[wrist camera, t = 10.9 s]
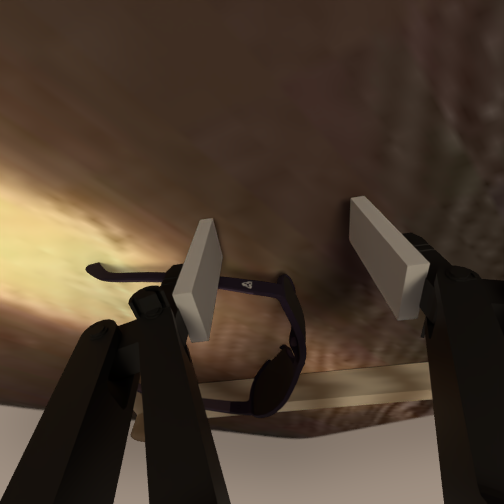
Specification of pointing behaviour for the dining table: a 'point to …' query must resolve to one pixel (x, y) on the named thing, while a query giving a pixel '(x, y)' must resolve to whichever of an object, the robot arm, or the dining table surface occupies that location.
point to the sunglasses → (272, 372)
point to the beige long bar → (323, 390)
